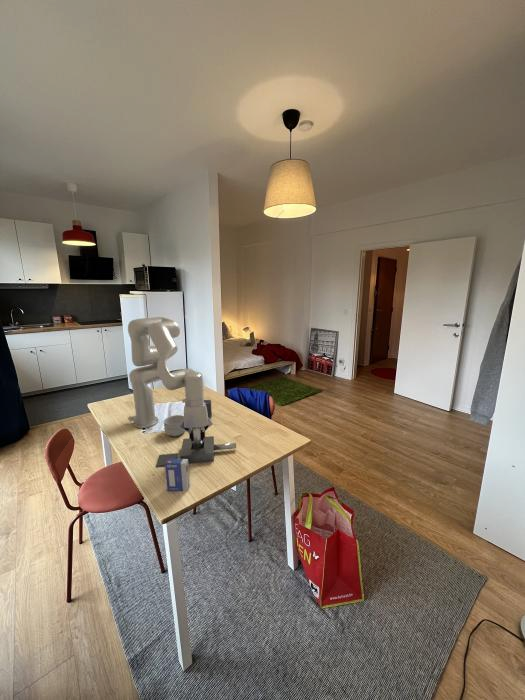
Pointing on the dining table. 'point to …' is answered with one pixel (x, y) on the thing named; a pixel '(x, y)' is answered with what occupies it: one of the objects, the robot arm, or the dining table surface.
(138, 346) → the robot arm
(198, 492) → the dining table surface
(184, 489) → the walkman
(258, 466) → the dining table surface
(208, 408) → the small box
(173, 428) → the teacup
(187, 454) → the block
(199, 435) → the silver copper cylinder
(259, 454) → the dining table surface
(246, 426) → the dining table surface
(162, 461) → the rubber pad
